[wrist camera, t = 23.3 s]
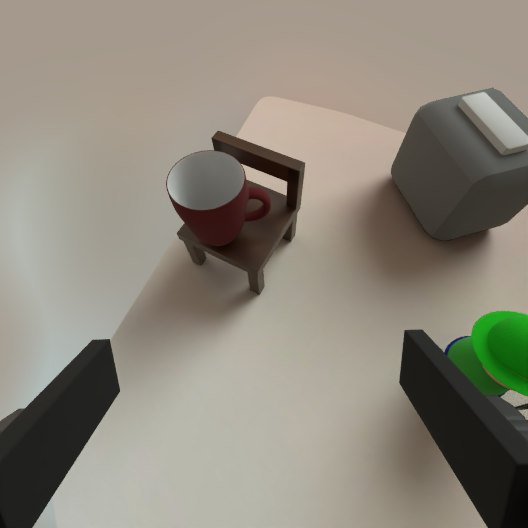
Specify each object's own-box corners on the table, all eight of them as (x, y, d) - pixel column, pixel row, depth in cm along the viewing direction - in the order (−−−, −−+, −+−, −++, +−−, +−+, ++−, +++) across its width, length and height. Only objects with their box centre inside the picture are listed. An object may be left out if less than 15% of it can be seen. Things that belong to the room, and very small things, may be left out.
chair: (260, 297, 46) (254, 241, 32) (190, 262, 49) (159, 197, 35) (297, 234, 50) (305, 162, 37) (232, 205, 53) (217, 130, 40)
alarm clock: (495, 233, 49) (581, 155, 36) (428, 251, 48) (490, 178, 34) (439, 158, 57) (492, 70, 43) (380, 173, 56) (415, 87, 42)
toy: (444, 418, 38) (537, 411, 24) (412, 346, 42) (476, 306, 28) (513, 400, 38) (640, 382, 25) (475, 330, 42) (567, 284, 29)
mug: (262, 198, 44) (259, 138, 35) (277, 248, 40) (278, 195, 31) (185, 215, 43) (161, 158, 34) (193, 267, 39) (170, 219, 30)
